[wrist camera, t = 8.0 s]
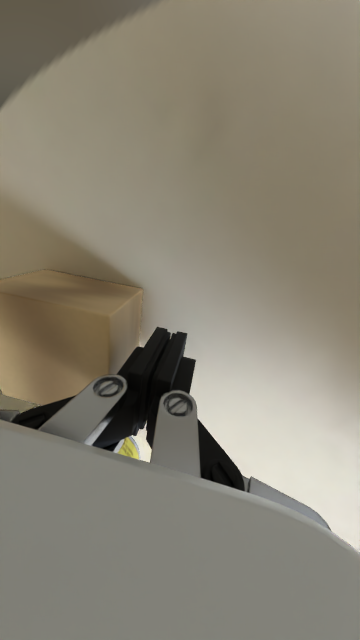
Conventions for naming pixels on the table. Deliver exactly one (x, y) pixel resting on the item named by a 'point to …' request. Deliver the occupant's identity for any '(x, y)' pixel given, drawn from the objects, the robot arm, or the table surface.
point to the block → (63, 333)
